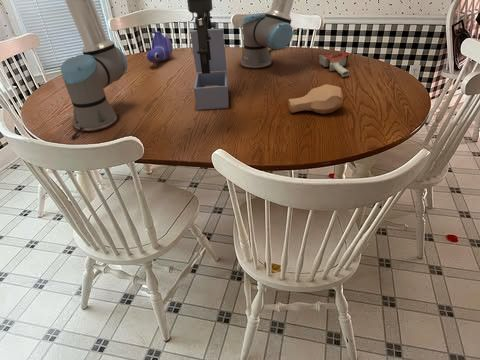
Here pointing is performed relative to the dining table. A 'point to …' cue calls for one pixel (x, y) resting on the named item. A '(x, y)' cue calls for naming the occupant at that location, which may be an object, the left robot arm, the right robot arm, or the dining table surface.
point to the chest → (211, 90)
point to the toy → (159, 48)
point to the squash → (319, 100)
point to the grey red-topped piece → (335, 62)
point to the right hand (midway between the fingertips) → (208, 37)
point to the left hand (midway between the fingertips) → (206, 66)
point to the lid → (211, 49)
